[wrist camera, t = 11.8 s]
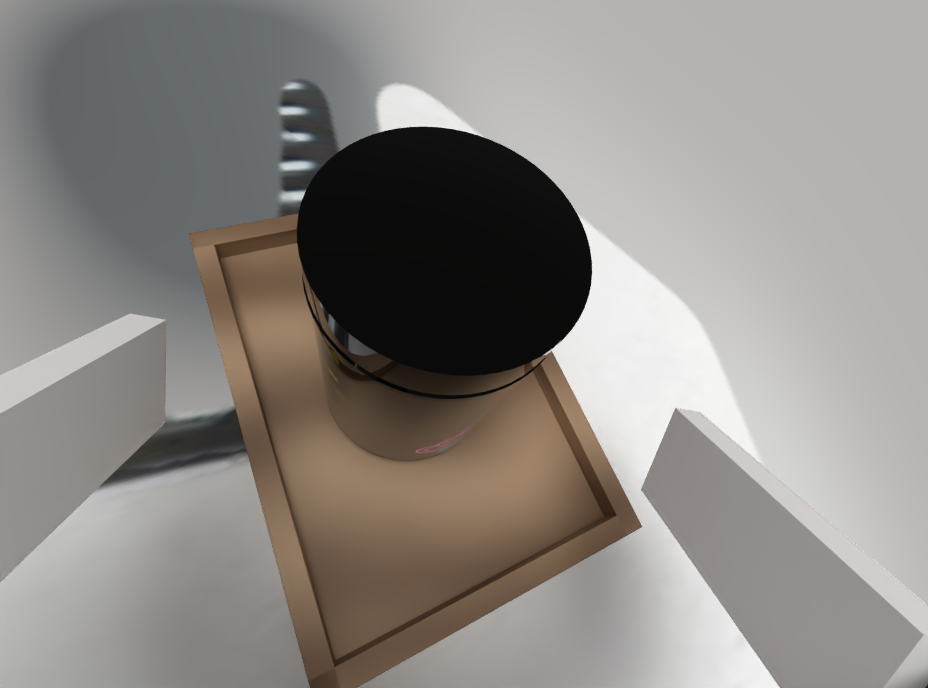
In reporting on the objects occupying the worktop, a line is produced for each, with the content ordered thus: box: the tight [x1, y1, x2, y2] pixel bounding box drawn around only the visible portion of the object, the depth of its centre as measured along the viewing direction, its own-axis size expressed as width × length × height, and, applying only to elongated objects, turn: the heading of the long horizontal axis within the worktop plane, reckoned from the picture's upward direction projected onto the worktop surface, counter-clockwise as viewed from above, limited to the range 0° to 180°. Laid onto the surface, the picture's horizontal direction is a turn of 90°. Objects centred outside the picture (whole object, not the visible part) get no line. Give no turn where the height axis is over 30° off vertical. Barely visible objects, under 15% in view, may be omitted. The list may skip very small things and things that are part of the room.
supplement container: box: [297, 127, 592, 461], centre depth 15 cm, size 7×7×10 cm
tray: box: [189, 214, 642, 688], centre depth 19 cm, size 18×13×2 cm
